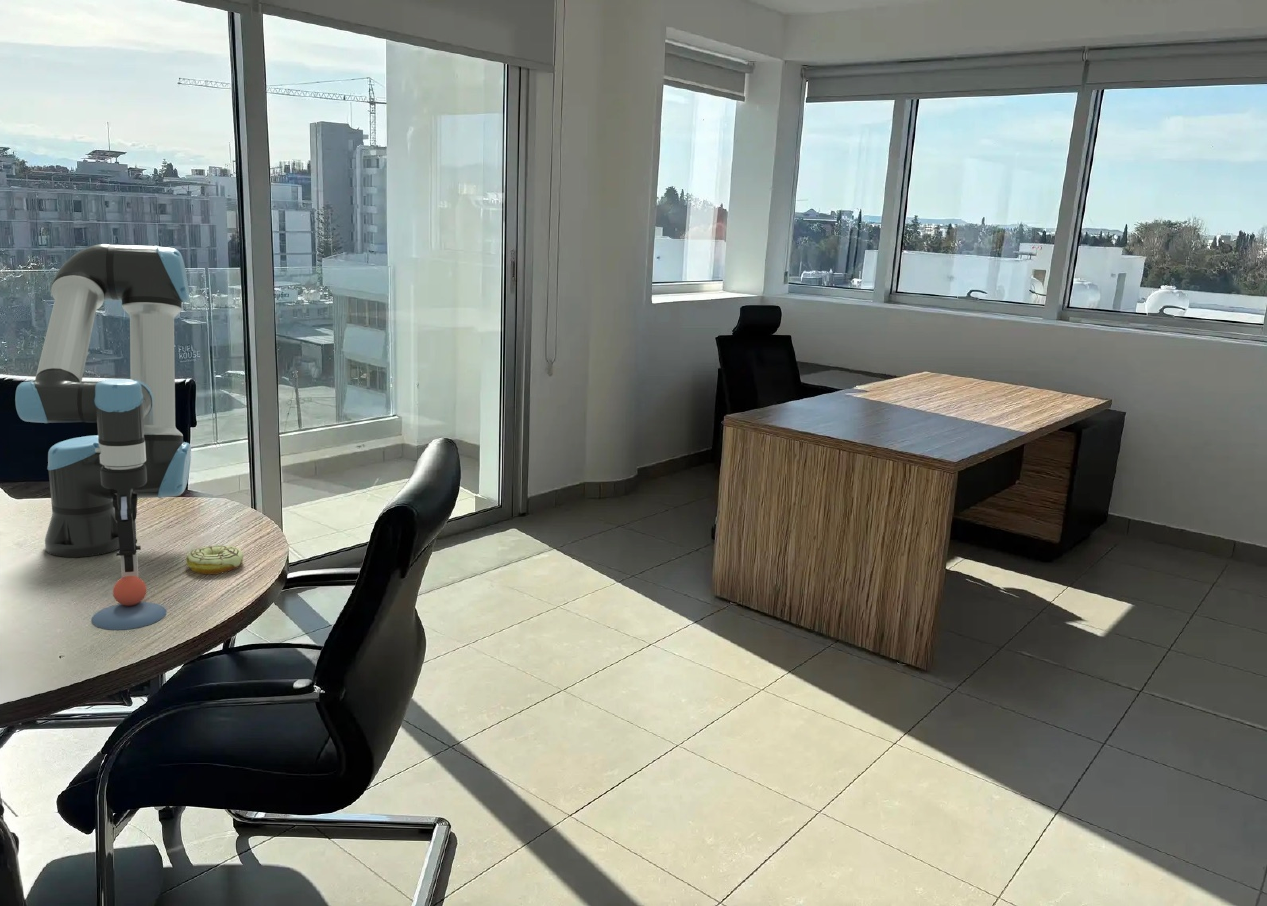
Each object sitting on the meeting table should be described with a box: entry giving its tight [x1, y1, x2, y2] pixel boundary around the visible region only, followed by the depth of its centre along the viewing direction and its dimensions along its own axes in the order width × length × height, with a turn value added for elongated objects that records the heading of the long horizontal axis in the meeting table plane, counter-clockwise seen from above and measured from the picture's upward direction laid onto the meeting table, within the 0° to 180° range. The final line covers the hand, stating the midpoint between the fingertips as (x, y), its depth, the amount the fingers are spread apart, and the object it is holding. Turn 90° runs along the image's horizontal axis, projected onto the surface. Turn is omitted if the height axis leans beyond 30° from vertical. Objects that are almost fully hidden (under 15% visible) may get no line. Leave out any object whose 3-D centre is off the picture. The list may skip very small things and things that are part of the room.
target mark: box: [91, 601, 167, 631], centre depth 175 cm, size 12×12×1 cm
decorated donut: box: [185, 544, 244, 575], centre depth 200 cm, size 10×11×4 cm
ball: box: [112, 576, 147, 606], centre depth 179 cm, size 6×6×6 cm
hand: (130, 585), depth 183 cm, fingers closed
